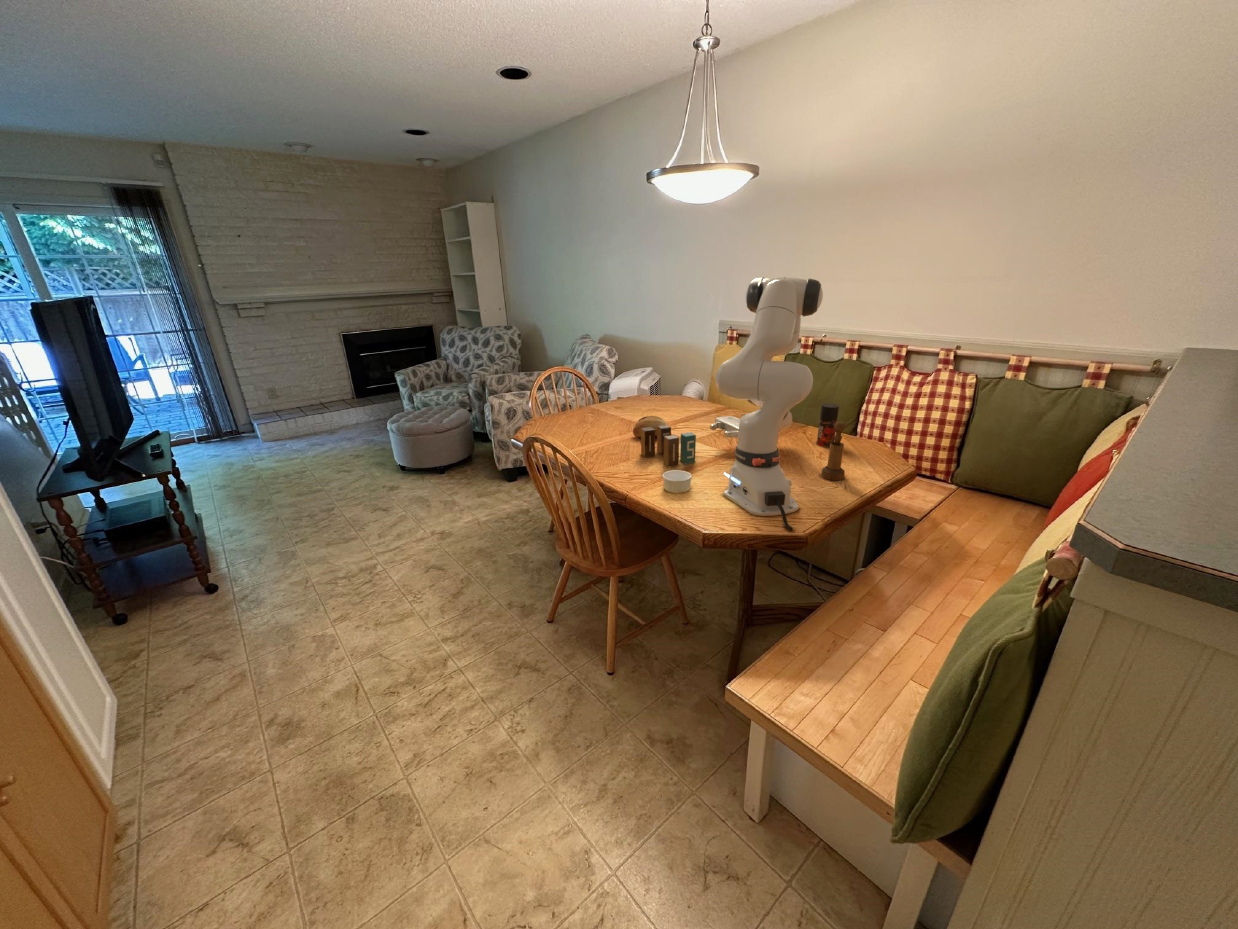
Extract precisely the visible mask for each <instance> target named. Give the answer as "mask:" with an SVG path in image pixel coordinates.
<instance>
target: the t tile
mask: <svg viewBox="0 0 1238 929" xmlns="http://www.w3.org/2000/svg"><path fill="white" fill-rule="evenodd" d="M670 435H672V427H671V426H670V425H668V424H667V425H661V426H657V436H656V453H658V454H660V455H664V436H670Z"/></svg>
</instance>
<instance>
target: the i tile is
mask: <svg viewBox="0 0 1238 929" xmlns="http://www.w3.org/2000/svg"><path fill="white" fill-rule="evenodd" d="M679 461H680V437H679V436H677V435H676V434H671V435H670V436H664V454H663V464H664V465H665V466H666V467H668V468H670V467H675V466H679V465H680V462H679Z"/></svg>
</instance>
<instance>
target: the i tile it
mask: <svg viewBox="0 0 1238 929" xmlns="http://www.w3.org/2000/svg"><path fill="white" fill-rule="evenodd" d="M640 455H641V456H643V457H644V458H649V457H655V456H656V436H655V429H653V428H651V427H648V428H641V437H640Z"/></svg>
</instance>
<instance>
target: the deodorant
mask: <svg viewBox="0 0 1238 929" xmlns="http://www.w3.org/2000/svg"><path fill="white" fill-rule="evenodd" d="M839 411H840V405H839V404H837V403H829V402H828V403H822V404H821V407H820V414H819V415H820V416H819V422H818V430H817V436H816V437H817V438H816V445H817V446H819V447H823V448H830V443H831V442H835V441H834V436H835V435H836V431H835V429H834V425H835V423H837V422H838V418H839Z"/></svg>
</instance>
